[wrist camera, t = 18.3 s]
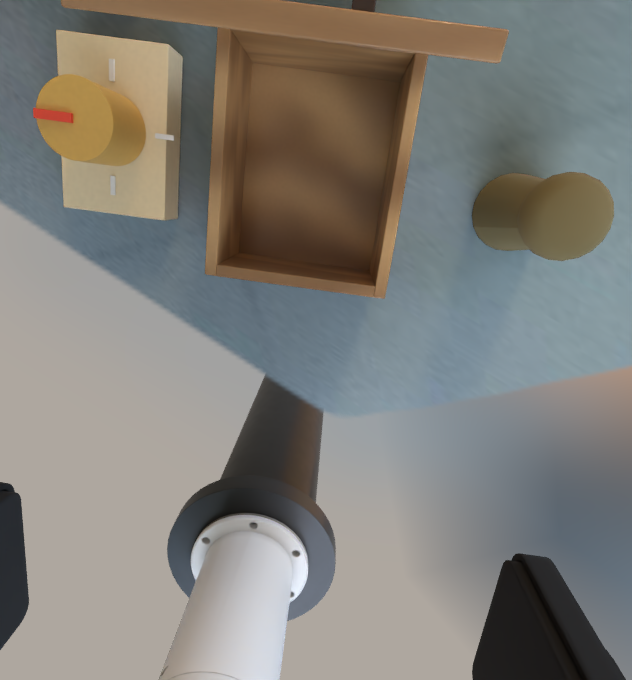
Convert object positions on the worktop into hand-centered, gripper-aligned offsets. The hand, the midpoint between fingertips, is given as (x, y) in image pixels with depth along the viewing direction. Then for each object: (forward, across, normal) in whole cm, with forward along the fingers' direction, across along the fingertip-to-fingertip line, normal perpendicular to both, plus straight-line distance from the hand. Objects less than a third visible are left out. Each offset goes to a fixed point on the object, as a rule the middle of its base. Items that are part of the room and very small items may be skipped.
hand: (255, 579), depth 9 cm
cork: (+32, -14, -8) cm, 36 cm away
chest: (+32, +2, -9) cm, 33 cm away
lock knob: (+29, +17, -10) cm, 35 cm away
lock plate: (+32, +17, -10) cm, 37 cm away
